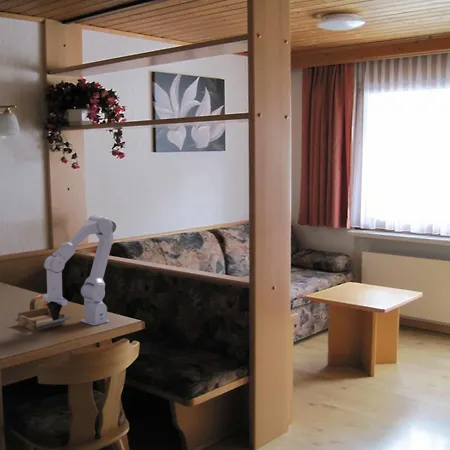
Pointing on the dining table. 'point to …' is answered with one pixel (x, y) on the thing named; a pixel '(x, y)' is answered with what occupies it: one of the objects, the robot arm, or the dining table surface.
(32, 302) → the tin
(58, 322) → the panel
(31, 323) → the light wood shallow box
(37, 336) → the dining table surface
